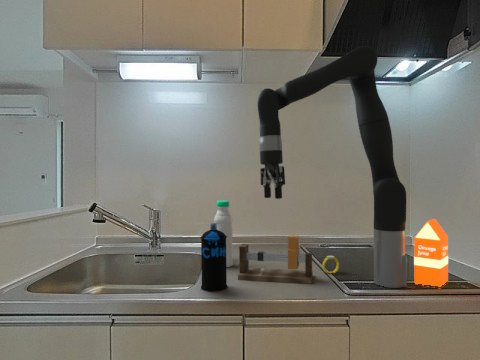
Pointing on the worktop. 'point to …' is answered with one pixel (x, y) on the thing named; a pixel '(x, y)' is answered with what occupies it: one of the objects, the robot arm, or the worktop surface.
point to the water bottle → (225, 228)
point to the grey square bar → (271, 256)
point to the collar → (293, 252)
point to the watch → (325, 262)
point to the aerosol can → (213, 259)
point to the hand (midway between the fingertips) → (272, 198)
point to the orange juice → (431, 255)
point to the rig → (274, 271)
